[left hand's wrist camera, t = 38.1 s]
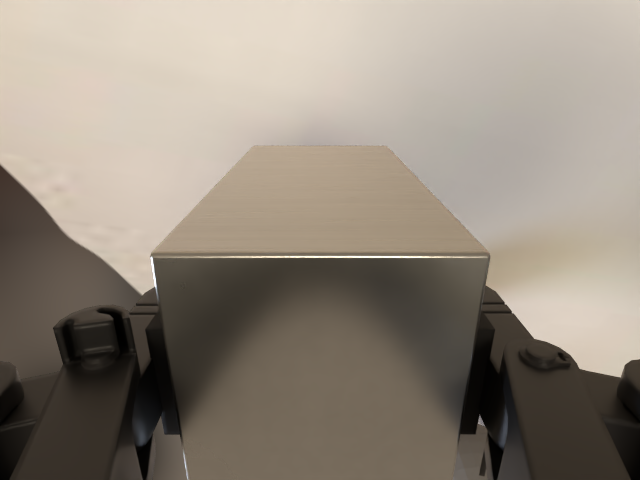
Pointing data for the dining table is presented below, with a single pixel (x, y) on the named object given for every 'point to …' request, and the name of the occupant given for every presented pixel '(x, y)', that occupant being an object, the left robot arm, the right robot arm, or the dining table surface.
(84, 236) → the dining table surface
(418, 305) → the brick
